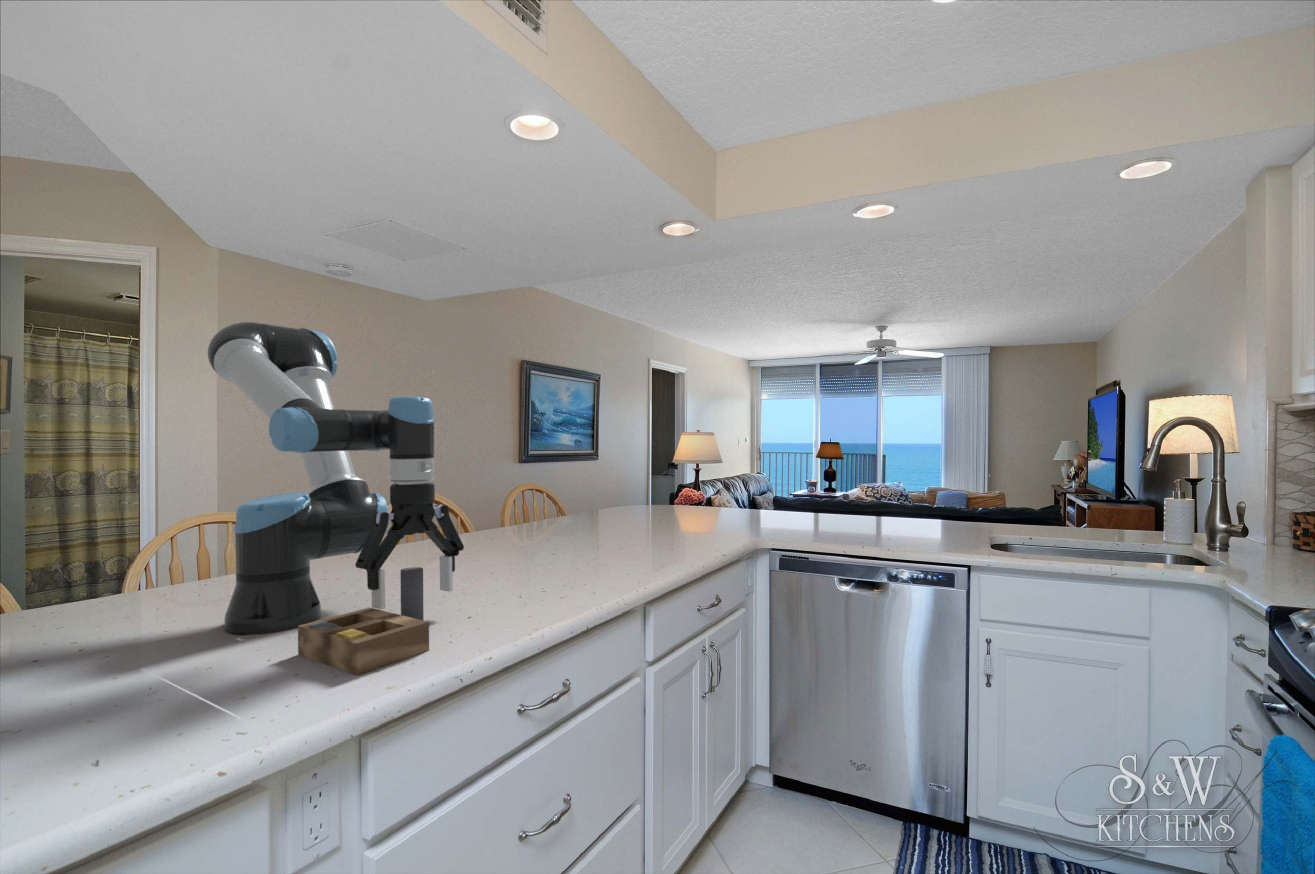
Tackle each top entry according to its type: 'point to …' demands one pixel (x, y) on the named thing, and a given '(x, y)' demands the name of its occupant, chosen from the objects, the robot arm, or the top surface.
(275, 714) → the top surface
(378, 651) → the socket board
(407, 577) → the plug
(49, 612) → the top surface
